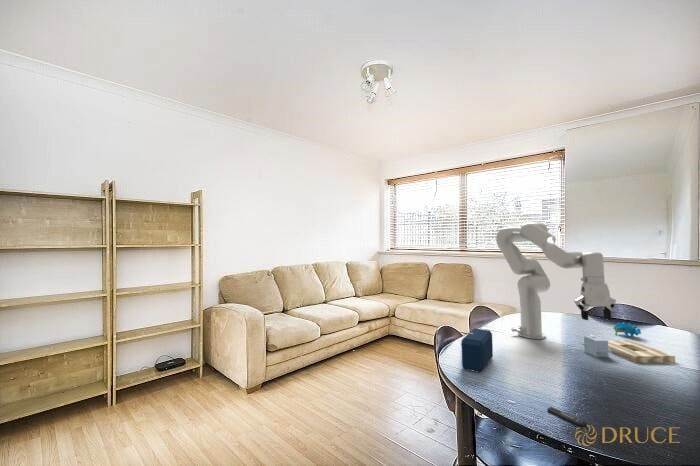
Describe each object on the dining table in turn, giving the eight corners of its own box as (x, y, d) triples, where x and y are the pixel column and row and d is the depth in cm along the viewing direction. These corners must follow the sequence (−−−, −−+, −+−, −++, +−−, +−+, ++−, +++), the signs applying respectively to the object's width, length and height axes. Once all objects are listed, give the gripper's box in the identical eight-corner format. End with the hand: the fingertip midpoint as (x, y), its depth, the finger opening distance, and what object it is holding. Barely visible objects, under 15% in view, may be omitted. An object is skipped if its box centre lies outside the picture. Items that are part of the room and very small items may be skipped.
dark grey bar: (546, 413, 91) (546, 407, 91) (551, 410, 92) (551, 405, 92) (582, 429, 83) (582, 424, 83) (587, 426, 84) (587, 421, 84)
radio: (472, 354, 138) (471, 309, 139) (493, 358, 133) (492, 311, 134) (459, 370, 121) (458, 319, 122) (483, 375, 116) (481, 322, 117)
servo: (600, 359, 130) (599, 341, 130) (581, 349, 141) (580, 333, 141) (612, 358, 130) (611, 341, 130) (592, 349, 141) (591, 333, 141)
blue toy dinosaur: (645, 334, 157) (635, 322, 155) (643, 344, 154) (633, 331, 152) (618, 332, 166) (609, 320, 164) (616, 341, 164) (607, 329, 162)
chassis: (635, 362, 126) (634, 356, 126) (596, 346, 146) (596, 340, 146) (675, 362, 125) (674, 355, 125) (631, 345, 145) (631, 340, 145)
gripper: (580, 281, 133) (582, 321, 132) (620, 280, 133) (623, 320, 132) (568, 279, 140) (570, 317, 140) (606, 278, 140) (609, 317, 139)
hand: (596, 319), depth 136 cm, fingers open, 9 cm apart
